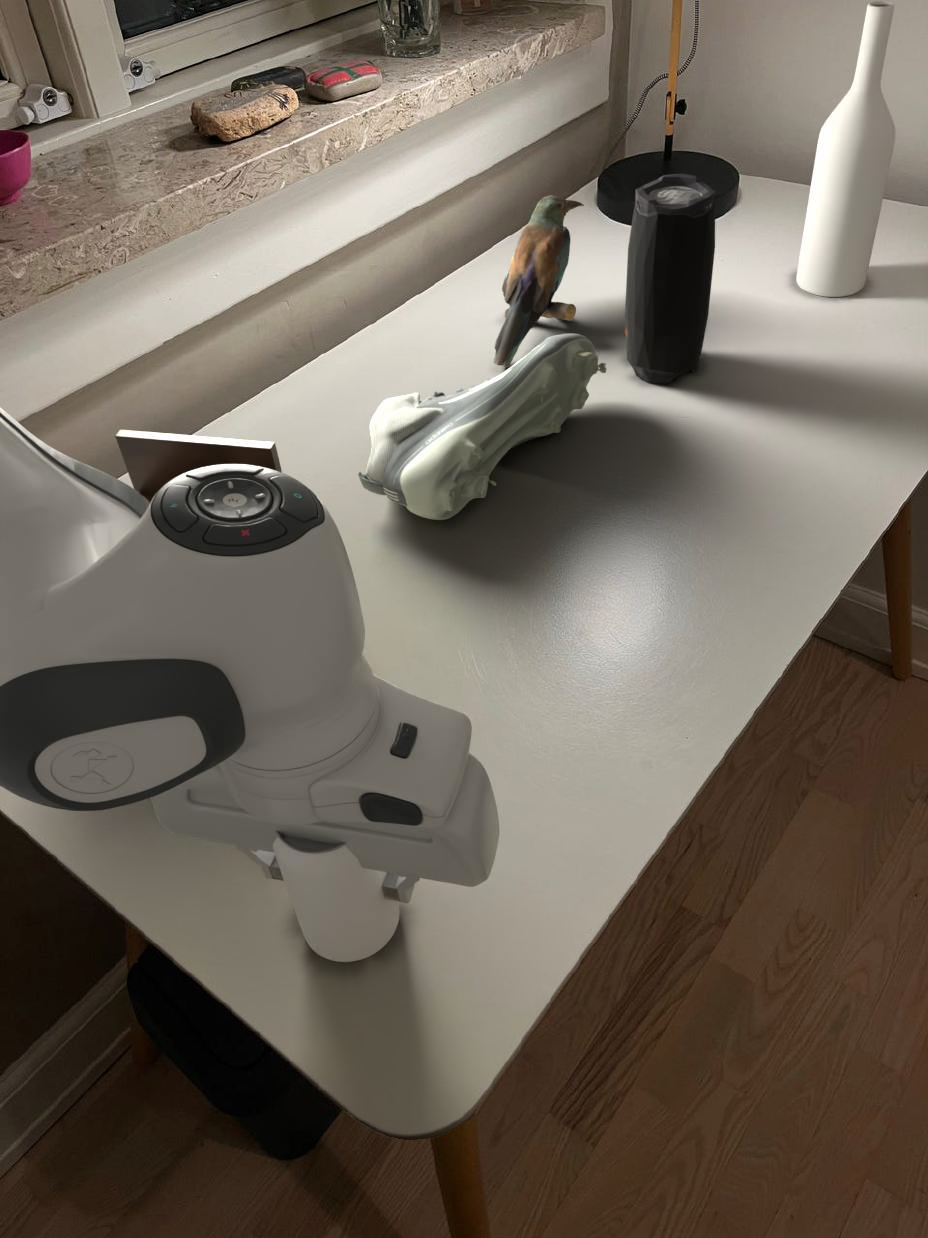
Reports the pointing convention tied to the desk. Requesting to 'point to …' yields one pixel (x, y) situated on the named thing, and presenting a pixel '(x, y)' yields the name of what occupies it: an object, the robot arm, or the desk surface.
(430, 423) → the baseball cleat
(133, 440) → the wooden doll chair
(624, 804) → the desk surface
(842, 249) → the bottle
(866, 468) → the desk surface
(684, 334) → the portable speaker
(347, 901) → the can
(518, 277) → the bird figurine
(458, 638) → the desk surface
